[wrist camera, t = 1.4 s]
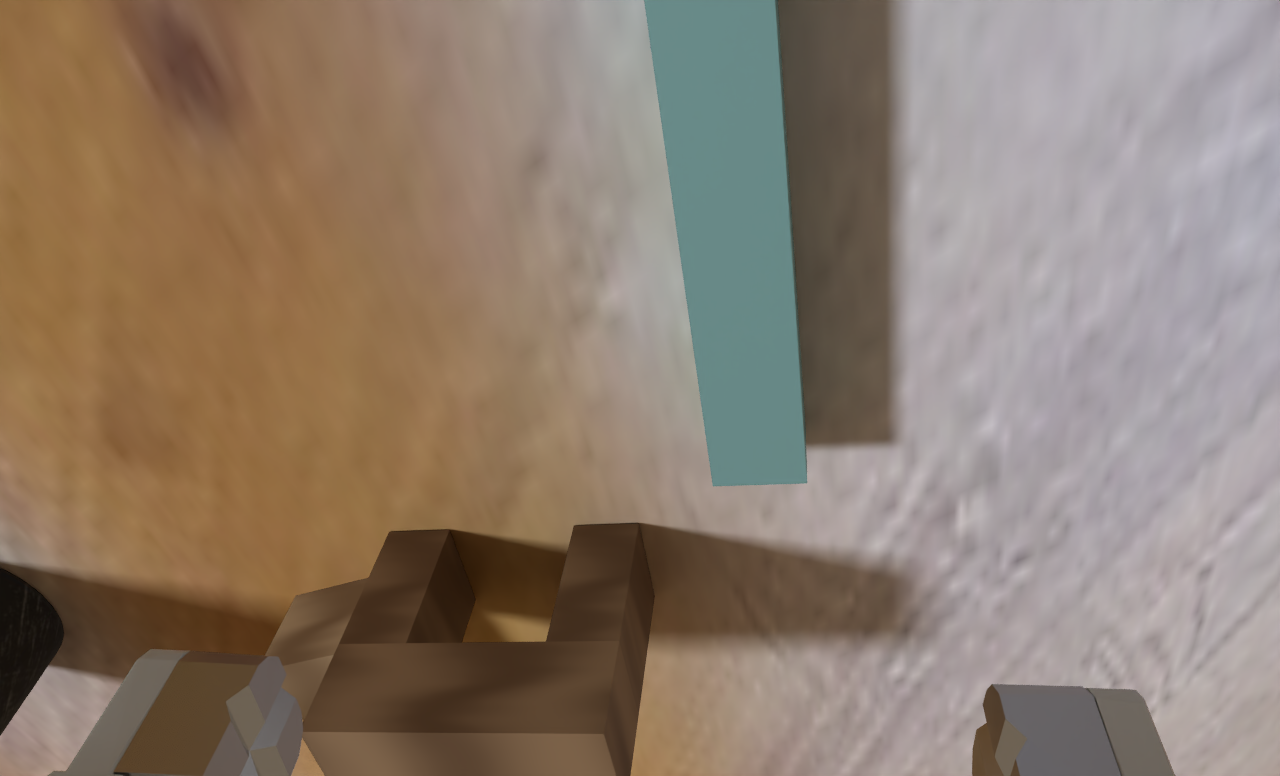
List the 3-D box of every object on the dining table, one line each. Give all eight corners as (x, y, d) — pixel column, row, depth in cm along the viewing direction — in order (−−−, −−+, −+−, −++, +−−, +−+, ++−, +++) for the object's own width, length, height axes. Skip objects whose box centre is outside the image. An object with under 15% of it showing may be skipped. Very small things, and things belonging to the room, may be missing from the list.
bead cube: (373, 575, 40) (338, 653, 37) (423, 636, 42) (394, 715, 39) (296, 594, 41) (256, 671, 38) (348, 652, 43) (314, 731, 40)
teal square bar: (753, -390, 21) (748, -397, 18) (805, 424, 33) (807, 483, 31) (614, -363, 21) (592, -366, 19) (718, 428, 34) (712, 486, 31)
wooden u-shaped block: (638, 523, 36) (603, 733, 29) (654, 596, 39) (625, 808, 32) (389, 531, 38) (299, 731, 31) (418, 600, 41) (340, 802, 33)
